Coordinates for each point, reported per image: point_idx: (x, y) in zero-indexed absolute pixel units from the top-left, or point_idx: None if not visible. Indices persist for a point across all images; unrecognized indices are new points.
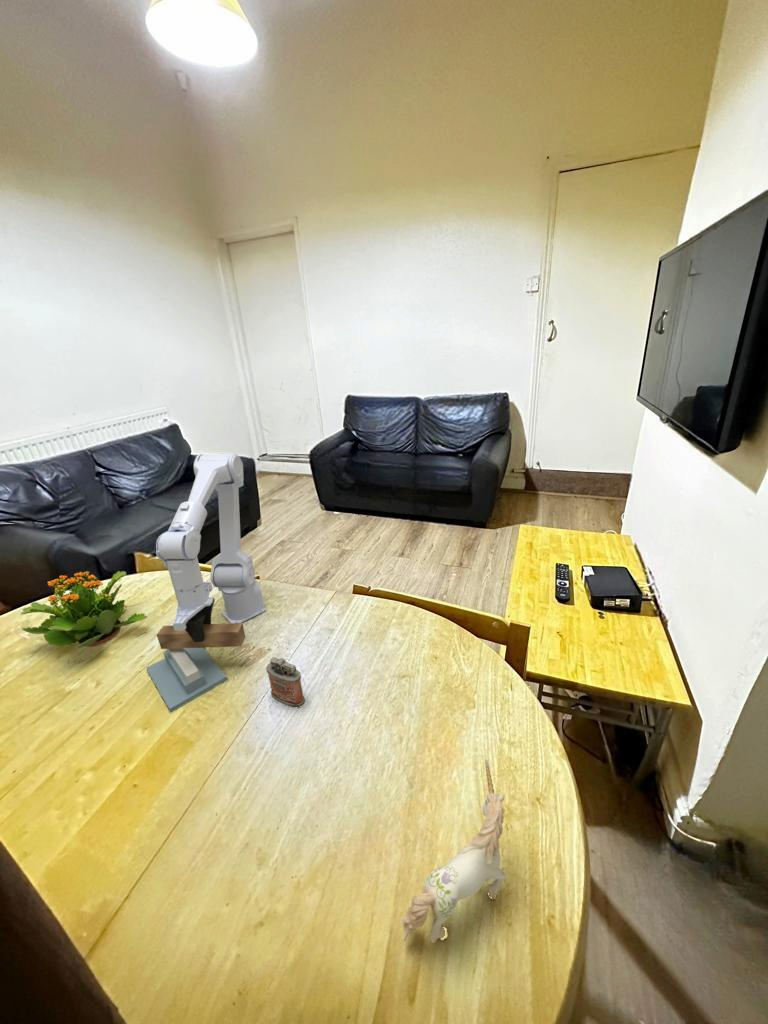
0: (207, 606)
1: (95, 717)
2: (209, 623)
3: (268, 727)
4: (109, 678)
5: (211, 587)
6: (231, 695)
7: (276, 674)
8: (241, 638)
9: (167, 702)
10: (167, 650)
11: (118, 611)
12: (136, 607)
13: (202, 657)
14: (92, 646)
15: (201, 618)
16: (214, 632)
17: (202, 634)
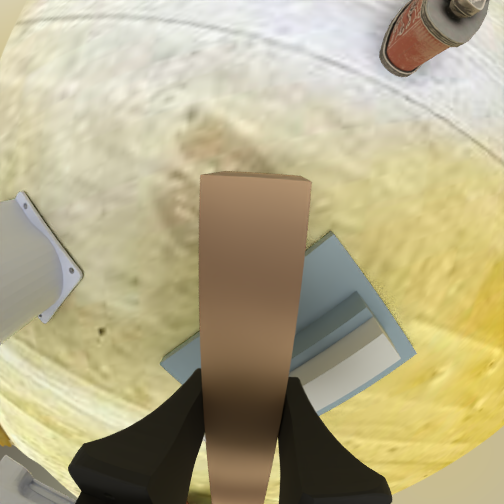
0: (160, 487)
1: (370, 457)
2: (199, 392)
3: (486, 89)
4: (272, 475)
5: (3, 472)
6: (396, 200)
7: (479, 14)
8: (277, 175)
9: (394, 366)
10: None
11: None
12: None
13: None
14: (187, 502)
15: (355, 501)
16: (291, 348)
17: (309, 404)
